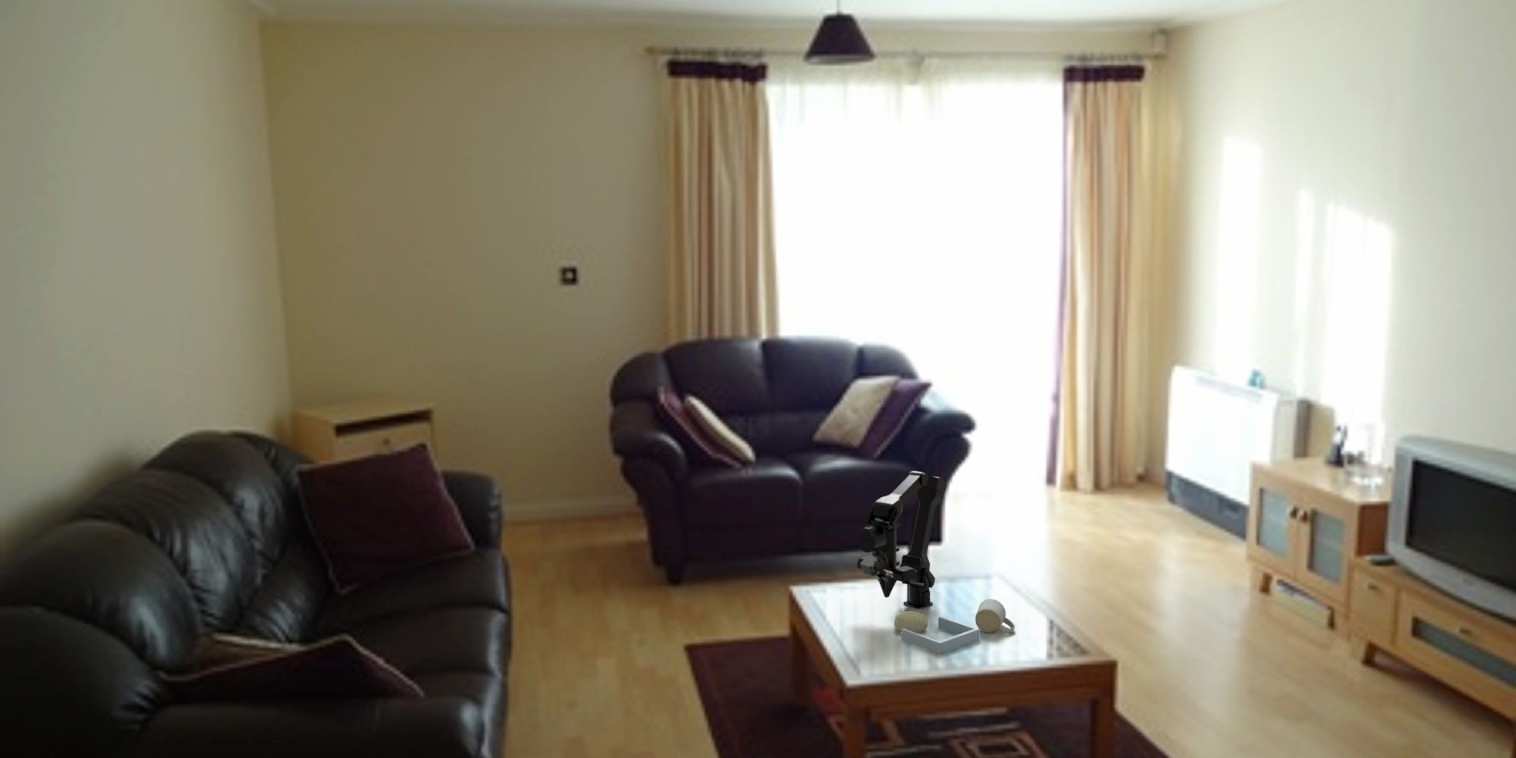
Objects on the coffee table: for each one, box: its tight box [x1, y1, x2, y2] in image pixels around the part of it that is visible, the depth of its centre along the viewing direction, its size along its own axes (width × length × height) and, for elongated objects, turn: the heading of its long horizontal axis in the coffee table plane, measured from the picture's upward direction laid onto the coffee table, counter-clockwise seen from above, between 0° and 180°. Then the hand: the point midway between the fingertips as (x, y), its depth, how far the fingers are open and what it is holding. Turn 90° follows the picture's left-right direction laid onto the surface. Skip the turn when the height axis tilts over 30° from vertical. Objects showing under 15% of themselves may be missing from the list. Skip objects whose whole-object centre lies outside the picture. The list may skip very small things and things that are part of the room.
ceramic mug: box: [974, 598, 1016, 634], centre depth 296 cm, size 11×8×8 cm
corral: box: [900, 615, 981, 655], centre depth 290 cm, size 14×16×3 cm
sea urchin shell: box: [893, 610, 929, 634], centre depth 298 cm, size 9×8×8 cm
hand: (886, 597), depth 305 cm, fingers closed
